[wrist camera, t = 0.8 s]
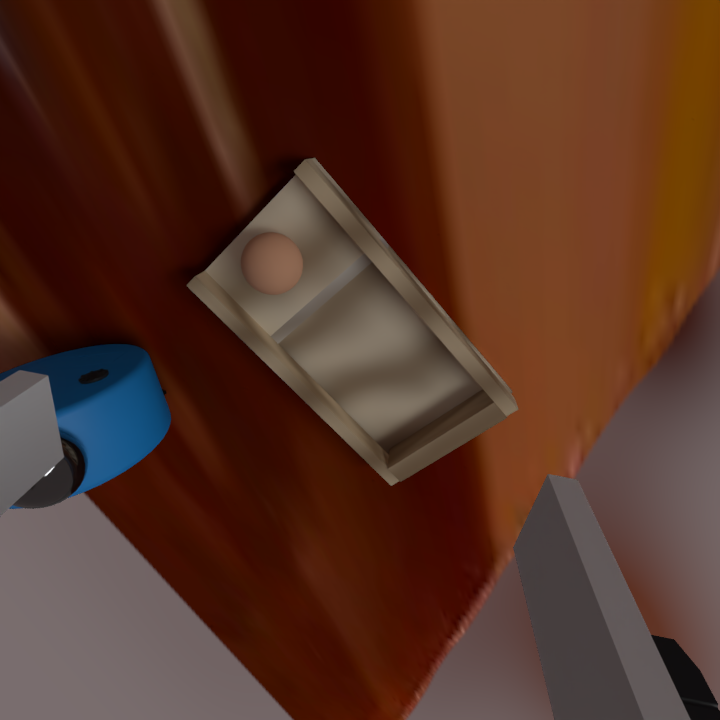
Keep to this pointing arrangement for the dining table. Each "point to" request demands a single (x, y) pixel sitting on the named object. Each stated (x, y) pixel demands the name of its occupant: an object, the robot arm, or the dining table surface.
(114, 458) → the alarm clock
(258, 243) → the ball
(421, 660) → the dining table surface
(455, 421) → the lane
